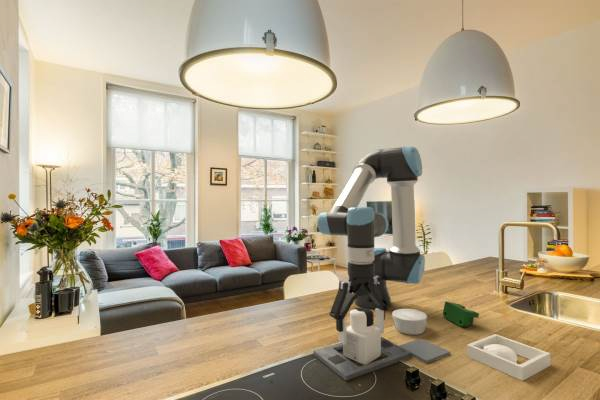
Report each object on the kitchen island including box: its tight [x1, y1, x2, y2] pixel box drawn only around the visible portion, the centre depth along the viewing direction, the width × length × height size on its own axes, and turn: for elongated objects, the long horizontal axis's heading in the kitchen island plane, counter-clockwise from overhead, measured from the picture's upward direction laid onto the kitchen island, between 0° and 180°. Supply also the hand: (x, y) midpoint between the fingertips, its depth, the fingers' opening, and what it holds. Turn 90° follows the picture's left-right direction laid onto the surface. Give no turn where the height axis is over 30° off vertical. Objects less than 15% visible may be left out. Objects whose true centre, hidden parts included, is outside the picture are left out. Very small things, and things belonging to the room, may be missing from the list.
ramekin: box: [391, 308, 428, 336], centre depth 106 cm, size 11×11×5 cm
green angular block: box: [442, 301, 480, 328], centre depth 112 cm, size 12×6×9 cm, turn 4°
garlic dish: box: [466, 333, 551, 382], centre depth 85 cm, size 14×14×3 cm
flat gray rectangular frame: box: [312, 336, 413, 382], centre depth 88 cm, size 15×23×1 cm, turn 119°
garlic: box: [483, 344, 518, 364], centre depth 86 cm, size 8×7×4 cm
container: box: [342, 307, 382, 366], centre depth 88 cm, size 8×8×13 cm
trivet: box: [398, 338, 451, 364], centre depth 91 cm, size 10×10×1 cm
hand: (361, 337), depth 88 cm, fingers open, 13 cm apart
